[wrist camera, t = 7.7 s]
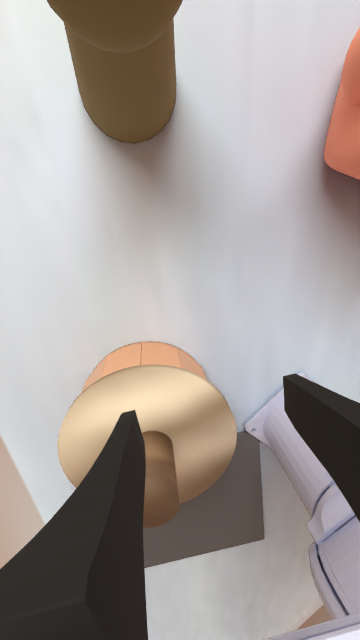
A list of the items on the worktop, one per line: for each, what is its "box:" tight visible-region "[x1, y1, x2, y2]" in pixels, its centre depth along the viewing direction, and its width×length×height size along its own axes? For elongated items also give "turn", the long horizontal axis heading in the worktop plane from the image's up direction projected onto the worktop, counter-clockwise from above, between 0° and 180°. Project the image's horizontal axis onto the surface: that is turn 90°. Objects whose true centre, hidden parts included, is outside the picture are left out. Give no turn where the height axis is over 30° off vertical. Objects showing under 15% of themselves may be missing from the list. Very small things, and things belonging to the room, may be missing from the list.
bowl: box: [81, 341, 207, 393], centre depth 22 cm, size 11×11×4 cm
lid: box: [58, 364, 237, 528], centre depth 17 cm, size 13×13×5 cm
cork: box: [47, 0, 182, 143], centre depth 11 cm, size 6×6×11 cm
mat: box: [143, 431, 264, 568], centre depth 29 cm, size 16×17×1 cm
